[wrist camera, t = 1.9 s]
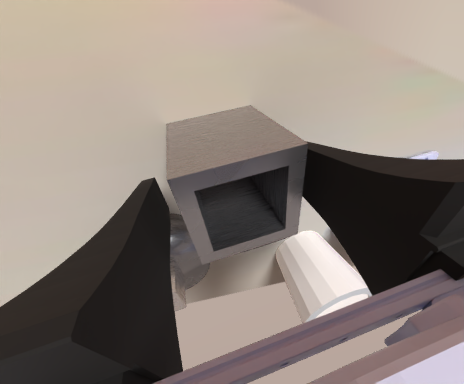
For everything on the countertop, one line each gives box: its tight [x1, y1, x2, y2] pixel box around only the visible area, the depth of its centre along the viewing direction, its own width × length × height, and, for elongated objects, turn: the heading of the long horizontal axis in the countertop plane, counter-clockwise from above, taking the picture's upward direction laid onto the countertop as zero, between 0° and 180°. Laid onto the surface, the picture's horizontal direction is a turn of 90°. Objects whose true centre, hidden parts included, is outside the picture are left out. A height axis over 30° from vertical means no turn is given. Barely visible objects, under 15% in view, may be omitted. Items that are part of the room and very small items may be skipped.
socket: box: [167, 105, 308, 265], centre depth 10 cm, size 5×5×6 cm
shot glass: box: [276, 231, 372, 323], centre depth 20 cm, size 7×7×7 cm
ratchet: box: [170, 214, 285, 312], centre depth 15 cm, size 14×7×5 cm, turn 98°
